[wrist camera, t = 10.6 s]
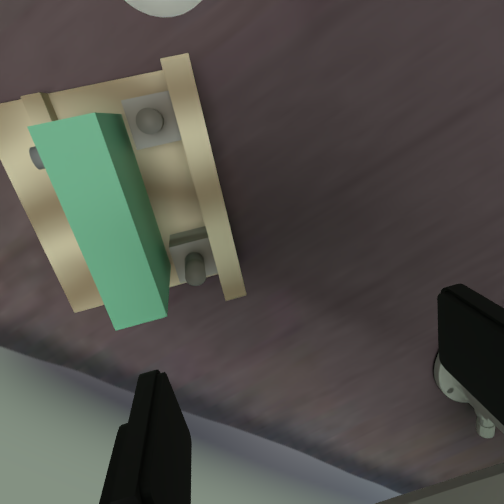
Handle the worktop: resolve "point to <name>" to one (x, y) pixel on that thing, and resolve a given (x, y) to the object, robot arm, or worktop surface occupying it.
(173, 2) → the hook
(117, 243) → the door
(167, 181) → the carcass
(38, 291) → the worktop surface
